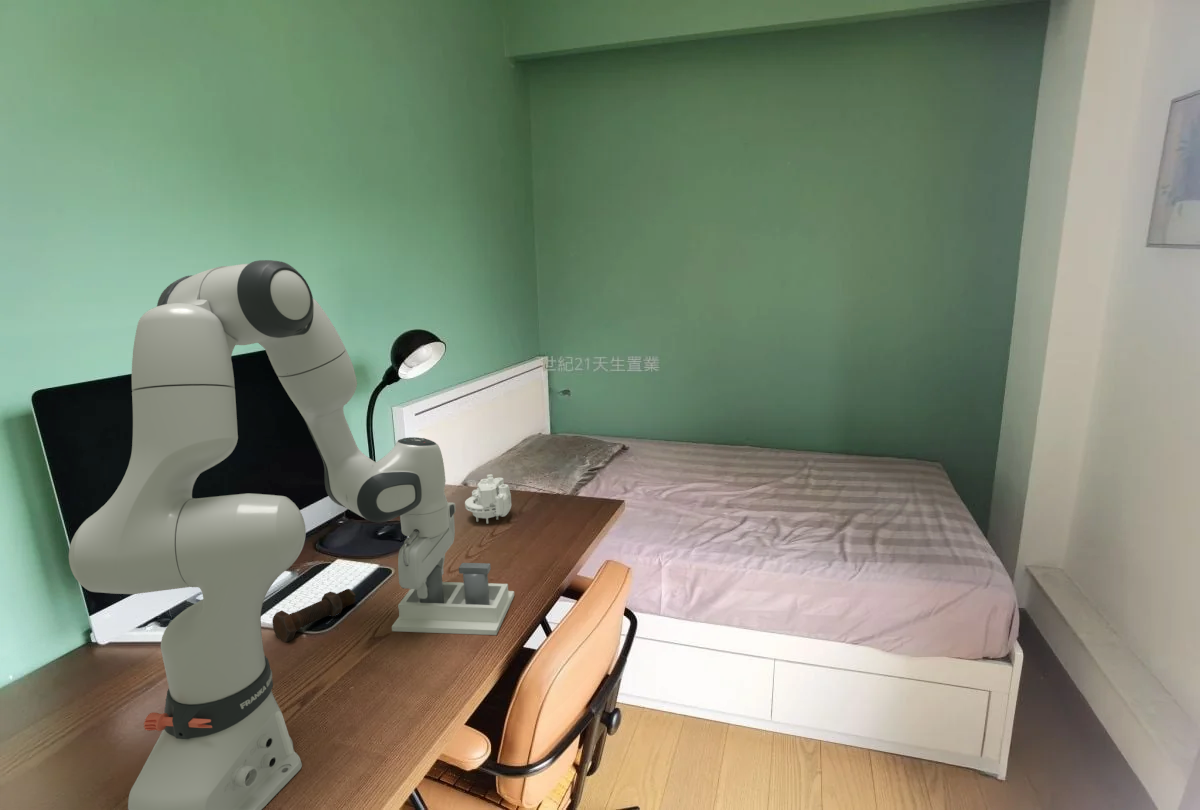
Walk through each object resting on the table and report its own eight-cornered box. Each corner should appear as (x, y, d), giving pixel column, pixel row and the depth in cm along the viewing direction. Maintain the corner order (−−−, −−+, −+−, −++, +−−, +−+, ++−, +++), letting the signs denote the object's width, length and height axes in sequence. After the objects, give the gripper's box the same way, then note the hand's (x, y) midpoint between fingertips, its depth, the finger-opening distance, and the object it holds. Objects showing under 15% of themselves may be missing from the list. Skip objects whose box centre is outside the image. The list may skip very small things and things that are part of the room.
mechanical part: (474, 510, 175) (471, 469, 172) (516, 511, 173) (514, 470, 171) (460, 527, 164) (456, 484, 161) (504, 529, 162) (502, 485, 160)
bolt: (355, 613, 129) (283, 648, 117) (342, 596, 131) (269, 628, 119) (362, 594, 126) (289, 628, 114) (348, 577, 128) (275, 608, 116)
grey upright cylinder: (439, 614, 122) (436, 576, 120) (416, 613, 123) (413, 575, 121) (447, 601, 127) (444, 564, 125) (425, 600, 127) (422, 563, 125)
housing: (496, 635, 117) (492, 584, 114) (392, 631, 119) (386, 581, 116) (514, 595, 130) (511, 549, 128) (420, 592, 132) (415, 547, 130)
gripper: (420, 544, 110) (427, 616, 113) (458, 500, 130) (463, 562, 133) (385, 543, 111) (393, 614, 114) (428, 500, 131) (434, 561, 134)
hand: (431, 586), depth 124 cm, fingers open, 6 cm apart
